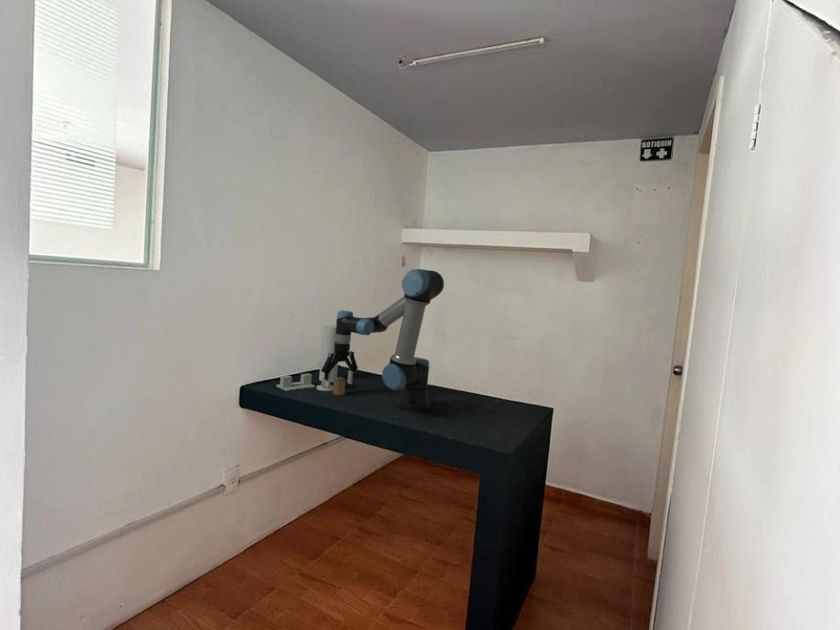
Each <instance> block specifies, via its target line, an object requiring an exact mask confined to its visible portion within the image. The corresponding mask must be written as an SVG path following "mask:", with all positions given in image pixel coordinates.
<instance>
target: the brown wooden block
mask: <svg viewBox="0 0 840 630" xmlns="http://www.w3.org/2000/svg"><path fill="white" fill-rule="evenodd" d="M332 386H333V391H332V395H333V396H337V397H338V396H340V397H341V396H344V395H345V392H346V391H345V389H346V378H344V377H342V376H339V377H338V376H337V378H334V382H333V384H332Z"/></svg>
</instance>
